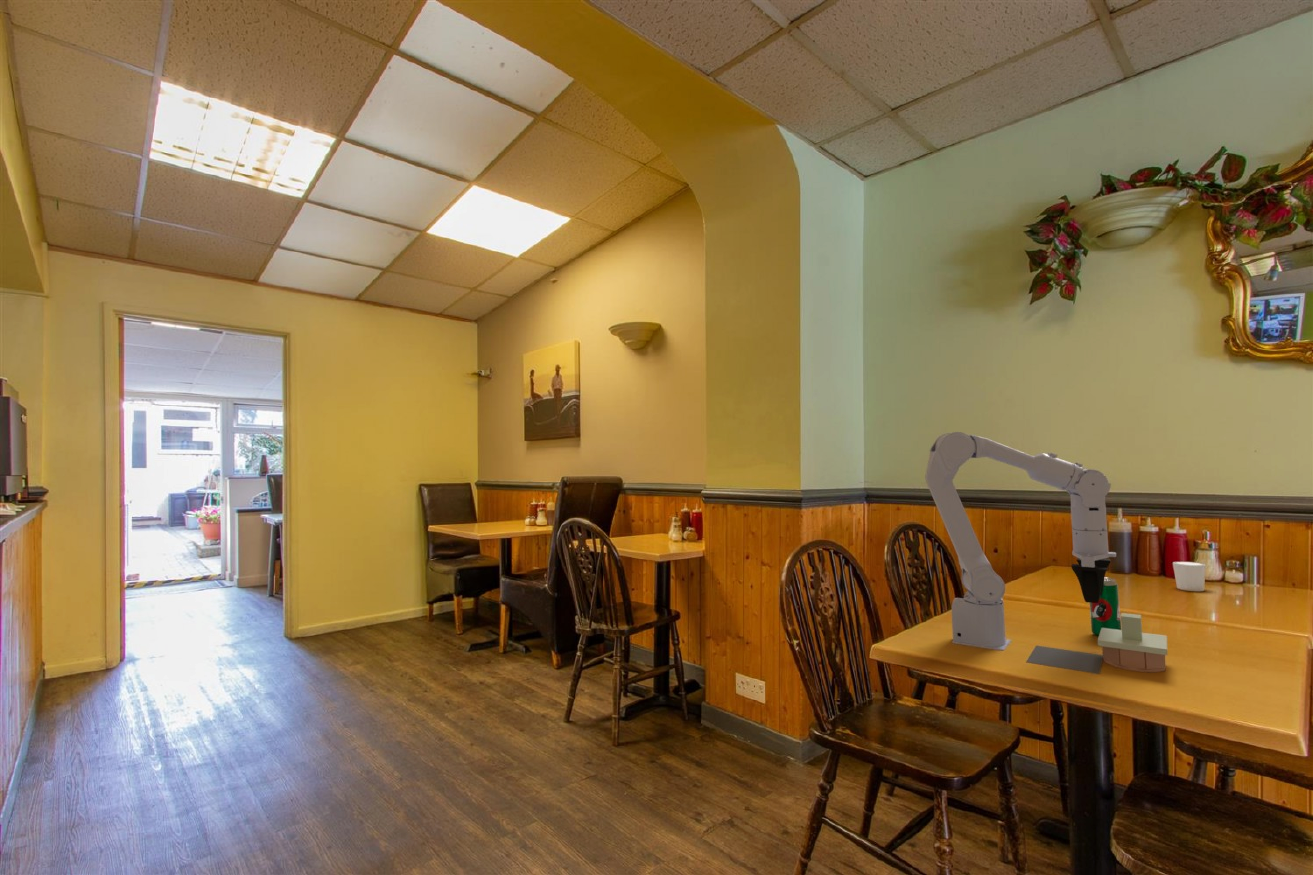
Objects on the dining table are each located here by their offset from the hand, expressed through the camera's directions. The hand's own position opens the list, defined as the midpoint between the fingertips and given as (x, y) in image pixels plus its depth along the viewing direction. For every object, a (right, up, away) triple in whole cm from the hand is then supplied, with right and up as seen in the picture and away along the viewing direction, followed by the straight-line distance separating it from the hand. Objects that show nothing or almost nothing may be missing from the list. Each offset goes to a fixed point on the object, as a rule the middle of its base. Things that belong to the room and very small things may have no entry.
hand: (1093, 598), depth 120 cm
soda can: (+8, -10, +7) cm, 15 cm away
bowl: (0, -10, -10) cm, 14 cm away
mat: (-10, -10, -6) cm, 15 cm away
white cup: (+60, -10, +46) cm, 76 cm away
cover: (0, -6, -10) cm, 11 cm away
